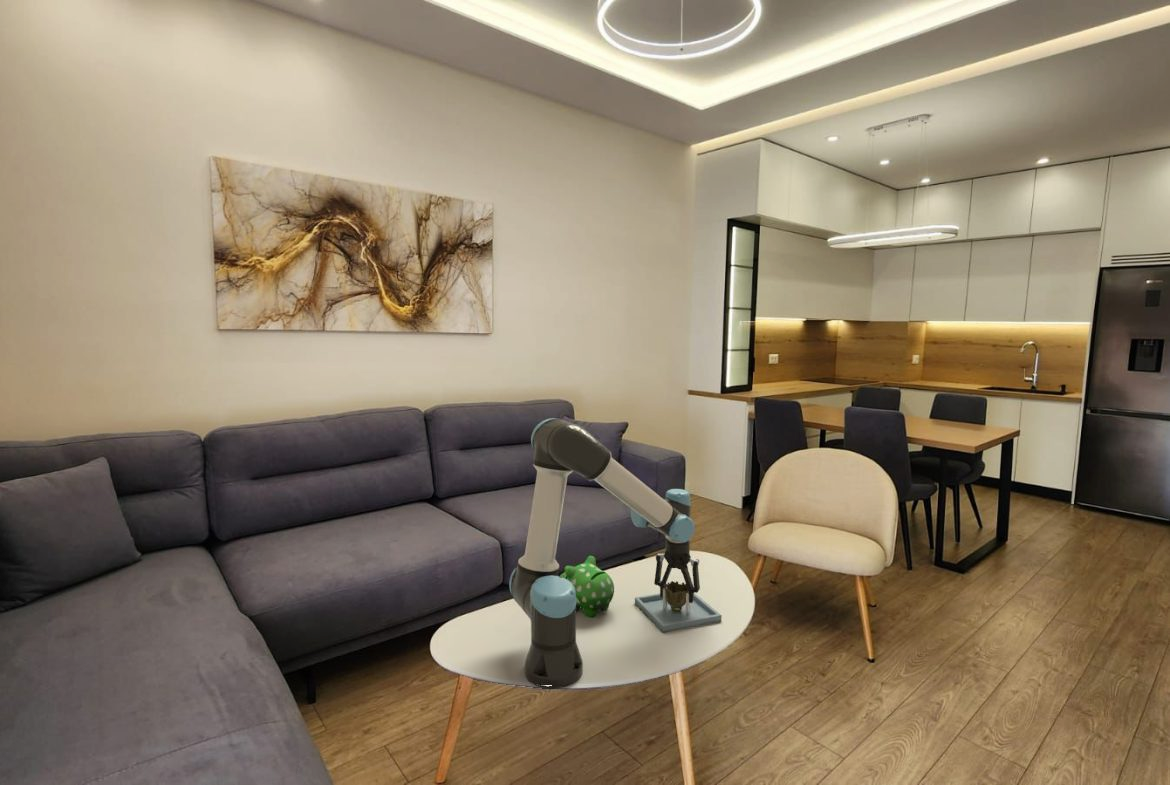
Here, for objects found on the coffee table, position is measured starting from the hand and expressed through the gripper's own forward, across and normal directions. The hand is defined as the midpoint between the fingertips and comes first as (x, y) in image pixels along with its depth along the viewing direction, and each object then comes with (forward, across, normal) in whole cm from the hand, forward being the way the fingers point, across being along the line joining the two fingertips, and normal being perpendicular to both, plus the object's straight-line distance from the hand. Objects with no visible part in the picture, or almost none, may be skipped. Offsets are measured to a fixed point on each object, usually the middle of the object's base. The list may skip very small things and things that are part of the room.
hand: (676, 609), depth 183 cm
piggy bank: (+1, +27, +10) cm, 29 cm away
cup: (0, 0, 0) cm, 0 cm away
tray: (+1, 0, 0) cm, 1 cm away
